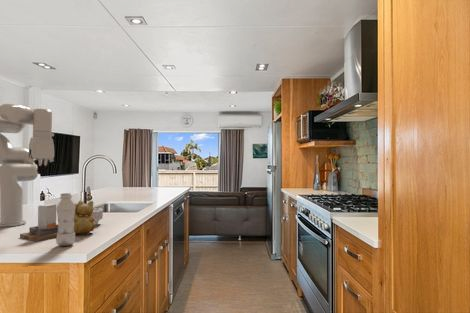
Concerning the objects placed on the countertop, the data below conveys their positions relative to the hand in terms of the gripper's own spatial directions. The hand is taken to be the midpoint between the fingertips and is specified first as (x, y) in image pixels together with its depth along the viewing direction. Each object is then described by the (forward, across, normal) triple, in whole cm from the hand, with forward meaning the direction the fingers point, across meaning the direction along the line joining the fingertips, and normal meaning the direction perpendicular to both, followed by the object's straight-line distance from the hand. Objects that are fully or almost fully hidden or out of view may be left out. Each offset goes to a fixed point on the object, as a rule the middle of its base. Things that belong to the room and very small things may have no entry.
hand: (41, 174), depth 149 cm
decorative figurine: (+26, -6, +26) cm, 37 cm away
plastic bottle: (+25, +9, +37) cm, 46 cm away
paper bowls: (+27, -19, +8) cm, 34 cm away
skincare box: (+25, +4, +14) cm, 29 cm away
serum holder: (+26, +4, +14) cm, 30 cm away
